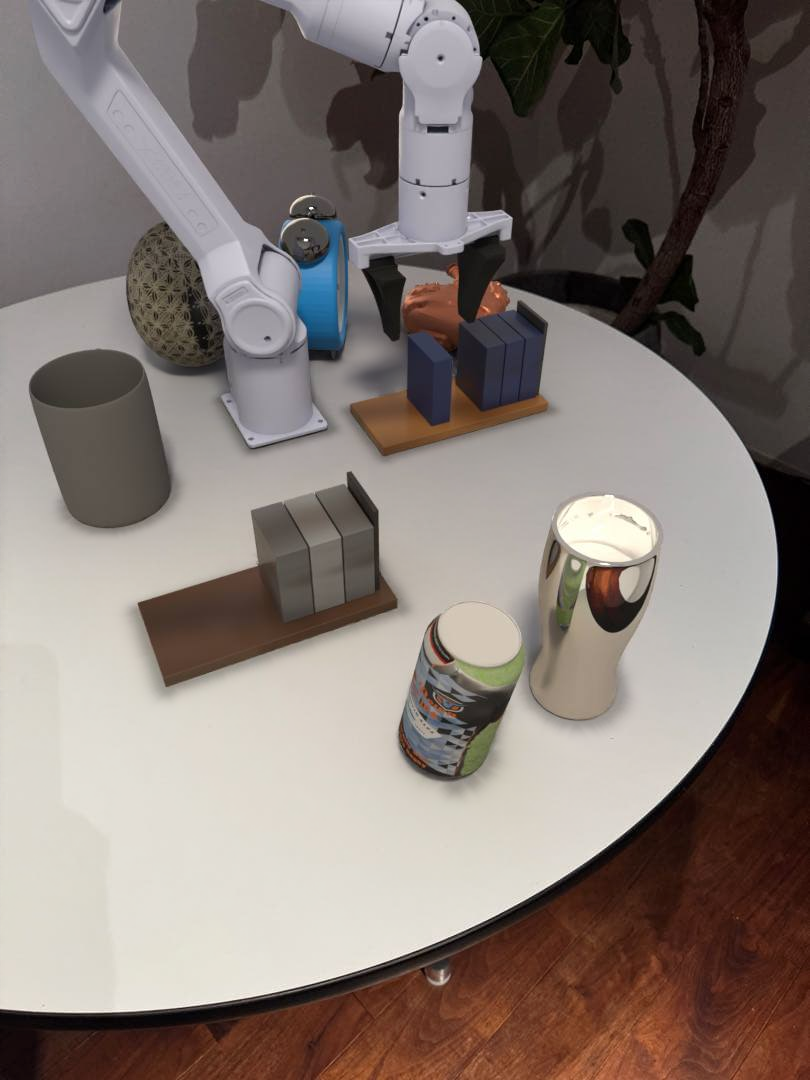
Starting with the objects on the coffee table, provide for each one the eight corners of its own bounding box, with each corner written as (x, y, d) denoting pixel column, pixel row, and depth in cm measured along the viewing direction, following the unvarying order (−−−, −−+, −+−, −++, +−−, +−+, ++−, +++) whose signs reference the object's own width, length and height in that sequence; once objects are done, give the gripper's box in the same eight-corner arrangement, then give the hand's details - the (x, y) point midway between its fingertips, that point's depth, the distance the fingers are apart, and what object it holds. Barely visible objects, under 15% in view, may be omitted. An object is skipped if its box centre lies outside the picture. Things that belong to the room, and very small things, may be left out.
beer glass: (560, 741, 58) (595, 583, 48) (504, 668, 63) (525, 509, 52) (642, 702, 60) (692, 544, 50) (583, 635, 65) (617, 477, 55)
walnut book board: (139, 611, 66) (114, 522, 60) (356, 543, 72) (353, 456, 66) (165, 687, 61) (140, 598, 55) (397, 607, 67) (398, 519, 61)
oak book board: (350, 412, 86) (346, 330, 80) (506, 371, 92) (514, 292, 86) (383, 456, 81) (382, 372, 75) (547, 410, 87) (559, 329, 81)
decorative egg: (265, 376, 91) (249, 236, 81) (152, 399, 88) (121, 256, 78) (237, 324, 99) (219, 192, 89) (132, 344, 96) (102, 208, 86)
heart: (531, 305, 90) (486, 248, 101) (418, 326, 89) (385, 266, 99) (529, 356, 94) (487, 295, 105) (421, 377, 93) (390, 313, 103)
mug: (173, 522, 74) (146, 403, 66) (61, 536, 73) (19, 416, 64) (171, 430, 84) (147, 317, 76) (72, 441, 82) (37, 327, 74)
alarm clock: (339, 375, 91) (333, 236, 81) (281, 373, 92) (267, 234, 81) (350, 314, 101) (345, 183, 91) (297, 313, 101) (286, 182, 91)
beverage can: (394, 711, 60) (395, 589, 52) (500, 705, 60) (517, 583, 52) (402, 793, 55) (404, 673, 47) (517, 785, 56) (538, 665, 48)
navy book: (406, 397, 87) (407, 334, 82) (424, 393, 87) (426, 330, 83) (431, 426, 83) (433, 362, 78) (450, 421, 84) (453, 357, 79)
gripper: (371, 206, 65) (374, 365, 74) (537, 177, 70) (520, 330, 79) (336, 174, 70) (342, 328, 79) (493, 149, 74) (482, 296, 84)
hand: (429, 326), depth 79 cm, fingers open, 7 cm apart
